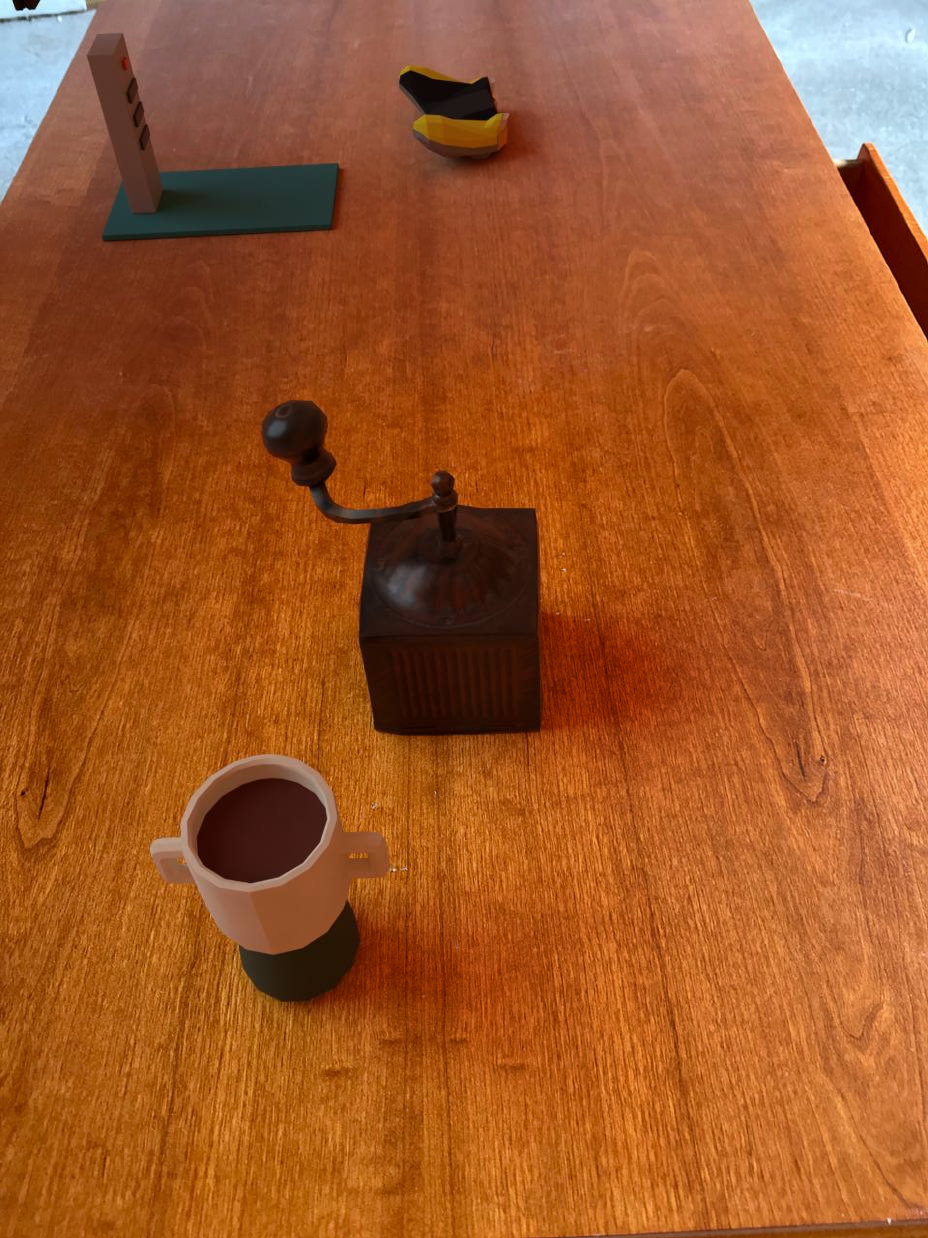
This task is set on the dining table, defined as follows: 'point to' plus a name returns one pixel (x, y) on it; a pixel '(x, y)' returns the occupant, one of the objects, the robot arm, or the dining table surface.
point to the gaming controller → (454, 113)
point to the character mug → (275, 871)
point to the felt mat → (232, 203)
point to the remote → (125, 121)
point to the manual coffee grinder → (434, 597)
